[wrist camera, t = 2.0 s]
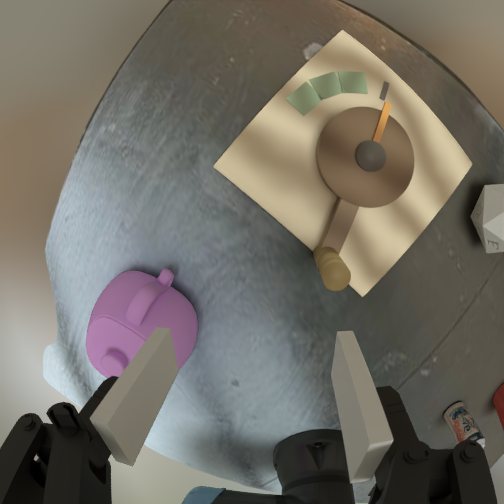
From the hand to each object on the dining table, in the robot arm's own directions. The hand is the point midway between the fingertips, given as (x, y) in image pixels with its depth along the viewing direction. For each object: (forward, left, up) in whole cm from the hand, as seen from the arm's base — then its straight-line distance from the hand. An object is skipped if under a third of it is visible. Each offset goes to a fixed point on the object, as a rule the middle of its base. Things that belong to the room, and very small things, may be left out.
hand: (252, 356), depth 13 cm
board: (+14, -1, -19) cm, 24 cm away
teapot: (-18, +5, -20) cm, 27 cm away
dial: (+11, -2, -18) cm, 21 cm away
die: (+23, -19, -19) cm, 36 cm away
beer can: (0, -48, -19) cm, 51 cm away
